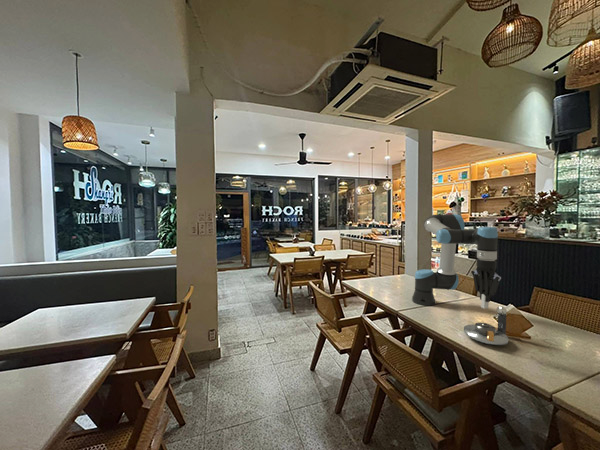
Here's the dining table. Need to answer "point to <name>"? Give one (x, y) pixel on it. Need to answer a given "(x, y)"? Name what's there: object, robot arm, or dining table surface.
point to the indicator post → (501, 319)
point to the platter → (489, 339)
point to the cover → (484, 328)
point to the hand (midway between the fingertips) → (484, 307)
